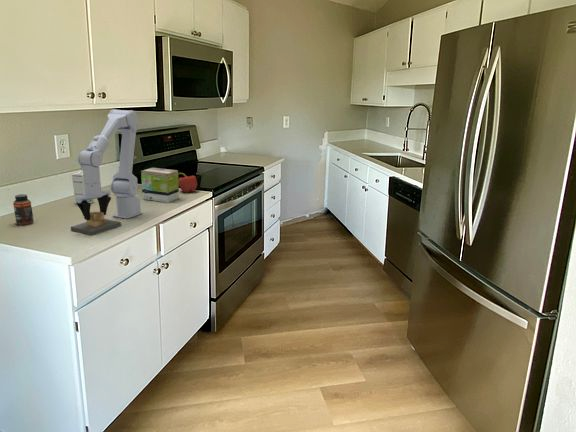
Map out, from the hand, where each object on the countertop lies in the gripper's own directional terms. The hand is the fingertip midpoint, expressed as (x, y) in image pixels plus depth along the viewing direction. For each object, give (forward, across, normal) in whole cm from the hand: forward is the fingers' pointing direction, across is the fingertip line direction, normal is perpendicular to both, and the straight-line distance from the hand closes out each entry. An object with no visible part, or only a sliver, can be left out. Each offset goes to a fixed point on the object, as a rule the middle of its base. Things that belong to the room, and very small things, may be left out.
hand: (95, 217), depth 163 cm
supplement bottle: (+5, +10, -28) cm, 30 cm away
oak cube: (+3, 0, 0) cm, 3 cm away
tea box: (+5, -48, -10) cm, 50 cm away
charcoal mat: (+4, 0, 0) cm, 4 cm away
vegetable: (+5, -69, -9) cm, 70 cm away
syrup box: (+5, -24, -34) cm, 42 cm away
